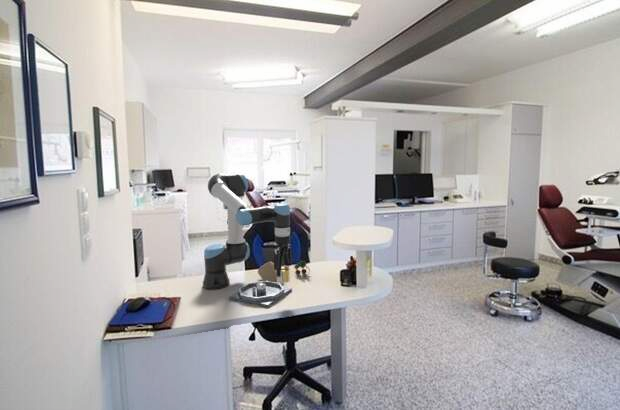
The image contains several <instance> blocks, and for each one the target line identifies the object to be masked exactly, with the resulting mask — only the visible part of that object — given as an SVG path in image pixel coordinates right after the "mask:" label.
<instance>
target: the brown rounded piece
mask: <svg viewBox="0 0 620 410" xmlns="http://www.w3.org/2000/svg"><path fill="white" fill-rule="evenodd" d="M257 273H258V275H259V276H260V278H261V279H262V281H271V282H277V270H274V261H273V262H272V261H268V262H266V263H264V264H263V265H261V266H260V267H259V268H258V270H257ZM277 283H278V282H277Z"/></svg>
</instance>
